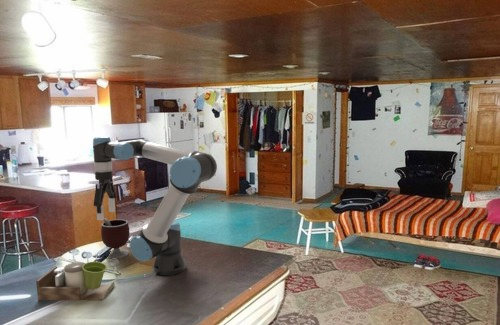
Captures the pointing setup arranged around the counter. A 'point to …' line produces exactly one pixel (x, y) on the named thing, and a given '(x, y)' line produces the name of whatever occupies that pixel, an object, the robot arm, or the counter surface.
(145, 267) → the counter surface
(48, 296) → the wooden organizer tray
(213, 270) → the counter surface
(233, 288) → the counter surface
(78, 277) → the cream jar
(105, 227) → the mate gourd
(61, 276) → the pusher
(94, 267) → the plant pot
